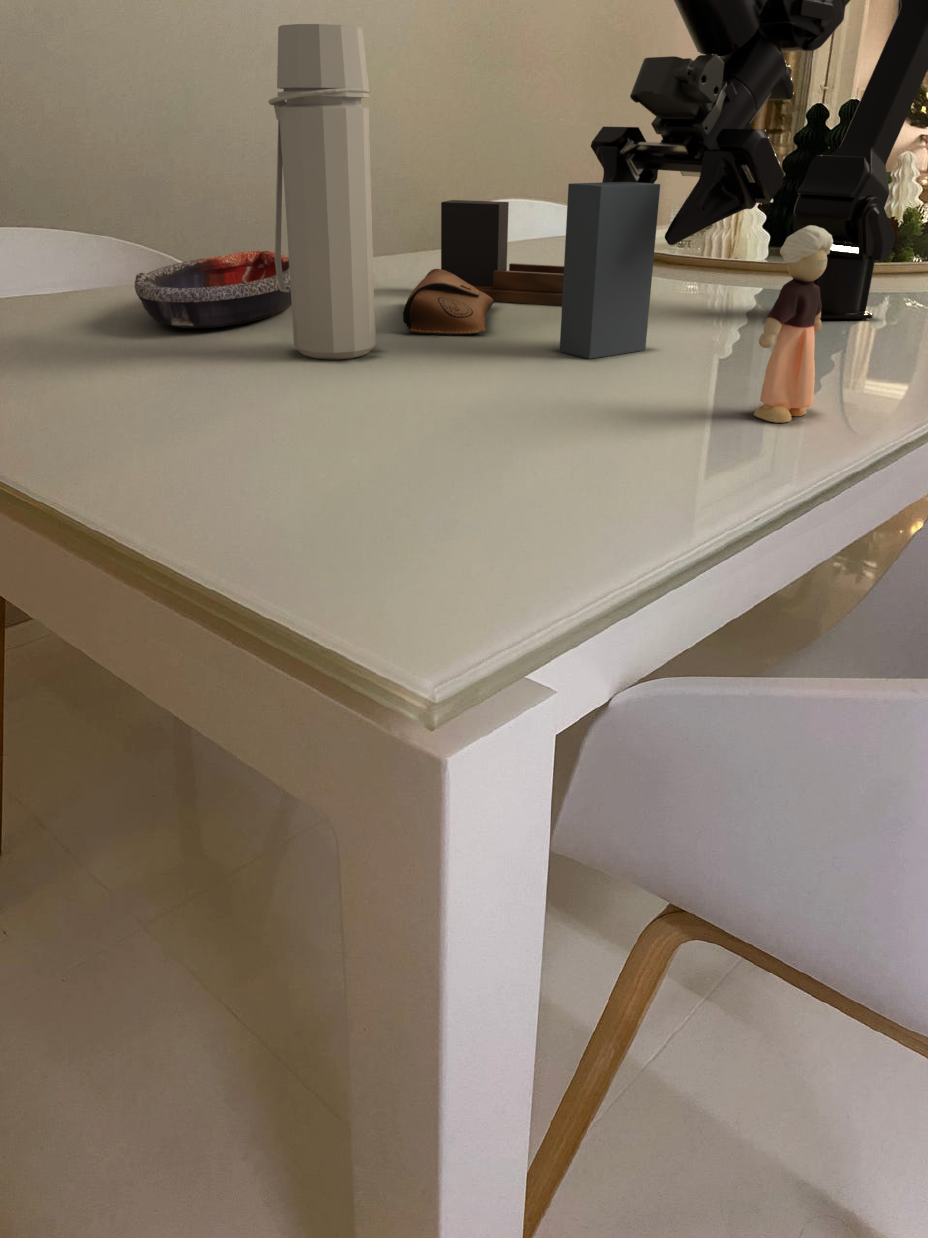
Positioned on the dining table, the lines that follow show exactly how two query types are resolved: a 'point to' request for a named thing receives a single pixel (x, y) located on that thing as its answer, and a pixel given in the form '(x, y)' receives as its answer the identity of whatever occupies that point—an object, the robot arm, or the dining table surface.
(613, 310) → the back pad
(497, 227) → the pad cradle
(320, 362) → the dining table surface
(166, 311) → the dish
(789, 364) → the grandmother figurine
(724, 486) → the dining table surface
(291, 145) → the water bottle
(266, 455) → the dining table surface
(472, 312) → the sunglasses case
